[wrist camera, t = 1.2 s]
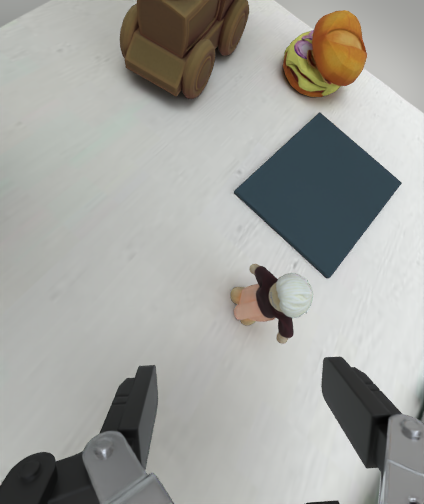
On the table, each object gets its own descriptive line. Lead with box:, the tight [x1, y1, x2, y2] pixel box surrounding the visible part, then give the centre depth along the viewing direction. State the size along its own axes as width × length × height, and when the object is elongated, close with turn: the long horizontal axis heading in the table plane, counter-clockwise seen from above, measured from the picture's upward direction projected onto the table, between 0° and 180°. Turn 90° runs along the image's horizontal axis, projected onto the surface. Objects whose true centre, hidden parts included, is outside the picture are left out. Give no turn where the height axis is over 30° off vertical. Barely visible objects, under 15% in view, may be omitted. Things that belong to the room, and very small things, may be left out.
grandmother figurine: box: [231, 264, 313, 344], centre depth 25 cm, size 8×4×13 cm, turn 31°
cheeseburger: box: [283, 10, 367, 97], centre depth 40 cm, size 10×11×10 cm
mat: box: [234, 113, 401, 278], centre depth 38 cm, size 16×20×1 cm
